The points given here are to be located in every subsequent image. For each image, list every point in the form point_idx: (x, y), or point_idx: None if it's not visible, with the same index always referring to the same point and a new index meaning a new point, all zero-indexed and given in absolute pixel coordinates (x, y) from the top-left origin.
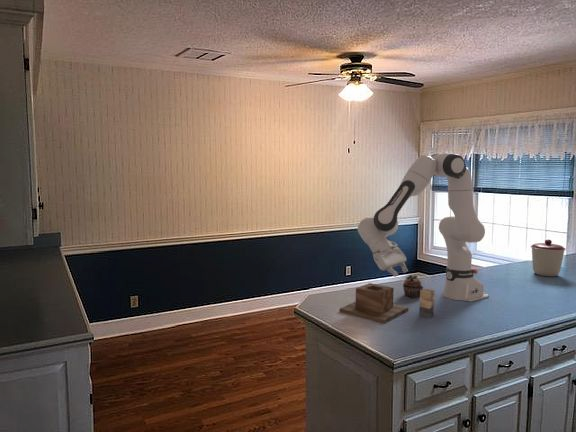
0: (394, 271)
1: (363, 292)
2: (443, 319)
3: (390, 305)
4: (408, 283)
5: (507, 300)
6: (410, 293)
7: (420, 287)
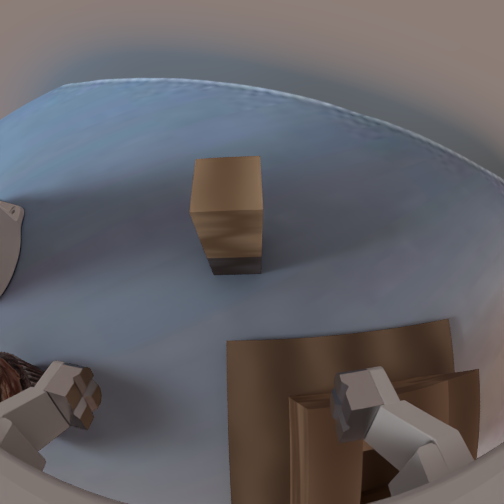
0: (404, 402)
1: None
2: None
3: (322, 395)
4: None
5: (5, 166)
6: None
7: (10, 357)
